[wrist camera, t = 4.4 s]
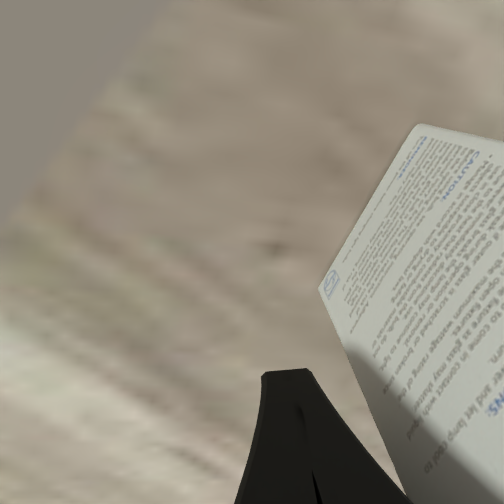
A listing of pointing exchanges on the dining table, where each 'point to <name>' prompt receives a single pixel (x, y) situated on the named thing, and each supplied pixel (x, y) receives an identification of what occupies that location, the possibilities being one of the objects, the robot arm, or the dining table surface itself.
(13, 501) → the dining table surface
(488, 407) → the light bulb box
